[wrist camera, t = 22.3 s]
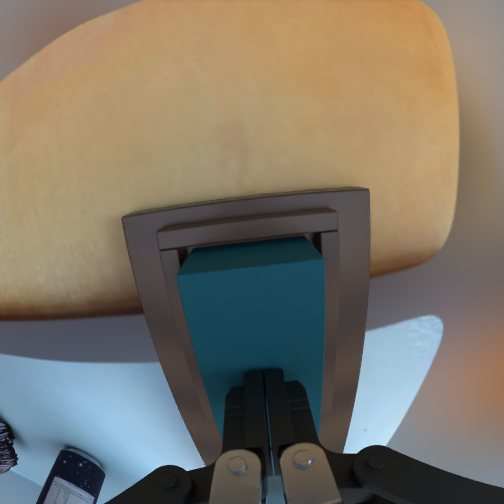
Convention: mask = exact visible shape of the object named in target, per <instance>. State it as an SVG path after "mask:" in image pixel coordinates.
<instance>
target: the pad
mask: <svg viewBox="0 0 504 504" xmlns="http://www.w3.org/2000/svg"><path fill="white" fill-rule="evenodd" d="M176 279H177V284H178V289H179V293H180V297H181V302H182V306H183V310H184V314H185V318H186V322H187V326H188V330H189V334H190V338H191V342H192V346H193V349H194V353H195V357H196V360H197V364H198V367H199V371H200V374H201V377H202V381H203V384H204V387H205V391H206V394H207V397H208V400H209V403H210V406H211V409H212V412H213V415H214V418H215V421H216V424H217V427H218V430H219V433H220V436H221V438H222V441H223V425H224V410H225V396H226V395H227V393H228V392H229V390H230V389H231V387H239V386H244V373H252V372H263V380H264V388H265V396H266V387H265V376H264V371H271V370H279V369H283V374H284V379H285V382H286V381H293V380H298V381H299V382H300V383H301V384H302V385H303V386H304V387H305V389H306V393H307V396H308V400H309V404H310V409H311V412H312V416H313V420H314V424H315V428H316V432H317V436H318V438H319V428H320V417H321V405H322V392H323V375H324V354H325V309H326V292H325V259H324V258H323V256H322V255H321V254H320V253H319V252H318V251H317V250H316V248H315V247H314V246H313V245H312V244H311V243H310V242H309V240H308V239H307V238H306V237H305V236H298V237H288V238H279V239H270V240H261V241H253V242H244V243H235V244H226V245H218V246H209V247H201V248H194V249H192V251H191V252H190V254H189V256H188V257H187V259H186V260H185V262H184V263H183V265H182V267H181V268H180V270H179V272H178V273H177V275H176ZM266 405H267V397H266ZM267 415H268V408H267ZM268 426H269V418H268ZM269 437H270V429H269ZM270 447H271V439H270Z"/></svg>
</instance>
